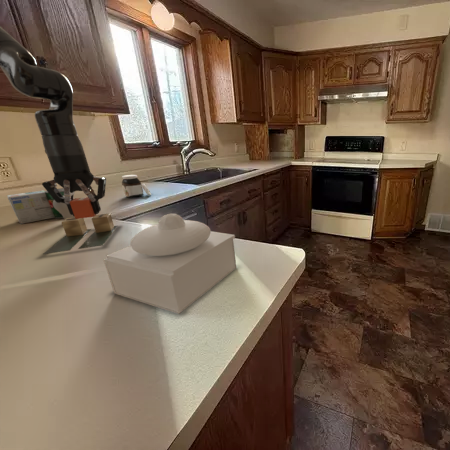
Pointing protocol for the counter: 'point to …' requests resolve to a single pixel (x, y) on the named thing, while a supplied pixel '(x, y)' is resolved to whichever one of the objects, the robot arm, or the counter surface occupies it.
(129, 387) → the counter surface
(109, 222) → the tan wooden block
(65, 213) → the lightbulb
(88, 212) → the orange block
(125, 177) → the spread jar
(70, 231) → the tan wooden cube
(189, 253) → the butter dish
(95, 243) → the dark green flat slab
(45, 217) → the light bulb box
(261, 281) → the counter surface
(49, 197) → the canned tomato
